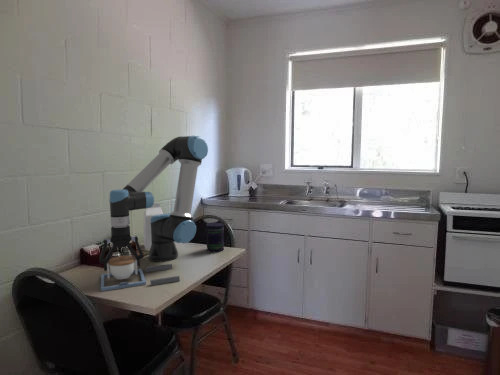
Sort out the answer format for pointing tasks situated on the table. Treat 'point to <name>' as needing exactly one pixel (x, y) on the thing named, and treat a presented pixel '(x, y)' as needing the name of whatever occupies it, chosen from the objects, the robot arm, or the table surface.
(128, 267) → the lidded jar
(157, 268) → the charcoal rails
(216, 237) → the storage jar
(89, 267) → the table surface
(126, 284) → the frame
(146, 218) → the milk
